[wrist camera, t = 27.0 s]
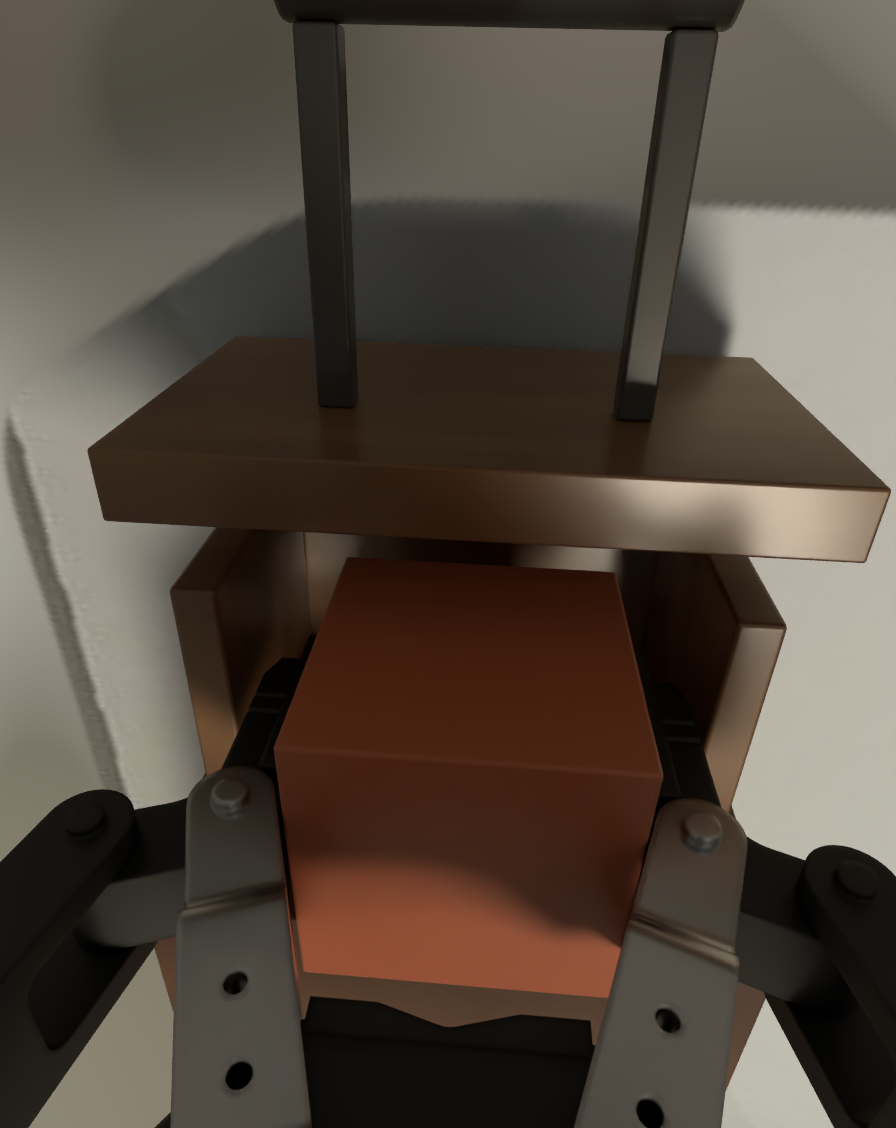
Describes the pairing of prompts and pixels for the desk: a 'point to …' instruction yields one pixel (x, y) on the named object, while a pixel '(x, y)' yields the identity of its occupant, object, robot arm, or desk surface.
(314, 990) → the cabinet
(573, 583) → the block
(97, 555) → the desk surface
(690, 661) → the drawer
